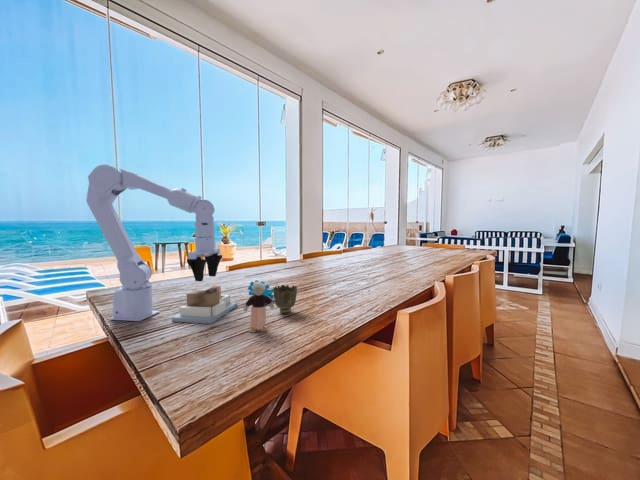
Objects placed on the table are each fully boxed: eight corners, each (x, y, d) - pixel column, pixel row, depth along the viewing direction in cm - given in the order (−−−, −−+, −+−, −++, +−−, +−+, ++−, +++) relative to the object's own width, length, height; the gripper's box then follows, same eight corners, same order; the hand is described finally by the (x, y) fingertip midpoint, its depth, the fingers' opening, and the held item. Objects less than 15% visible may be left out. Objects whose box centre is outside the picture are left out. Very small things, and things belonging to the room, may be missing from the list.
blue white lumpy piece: (255, 303, 84) (245, 279, 89) (247, 314, 87) (237, 289, 92) (281, 301, 93) (270, 278, 98) (272, 310, 95) (263, 288, 100)
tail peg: (209, 305, 84) (208, 287, 83) (214, 303, 87) (214, 285, 86) (217, 306, 83) (217, 288, 83) (222, 303, 86) (222, 286, 86)
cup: (268, 314, 79) (268, 288, 78) (281, 307, 85) (280, 283, 85) (290, 318, 76) (289, 291, 75) (301, 310, 83) (301, 285, 82)
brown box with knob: (187, 313, 76) (186, 290, 76) (195, 309, 80) (194, 287, 80) (212, 314, 75) (211, 291, 75) (219, 310, 79) (219, 287, 79)
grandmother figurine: (246, 335, 64) (245, 284, 63) (243, 330, 67) (242, 281, 66) (276, 329, 67) (275, 281, 67) (271, 324, 71) (271, 278, 70)
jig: (171, 321, 73) (171, 308, 73) (204, 304, 89) (204, 294, 89) (211, 323, 72) (210, 310, 72) (237, 306, 88) (237, 295, 87)
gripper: (203, 238, 76) (204, 283, 77) (227, 236, 91) (228, 274, 91) (181, 238, 77) (182, 283, 78) (208, 236, 92) (209, 274, 92)
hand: (206, 278), depth 85 cm, fingers open, 7 cm apart
